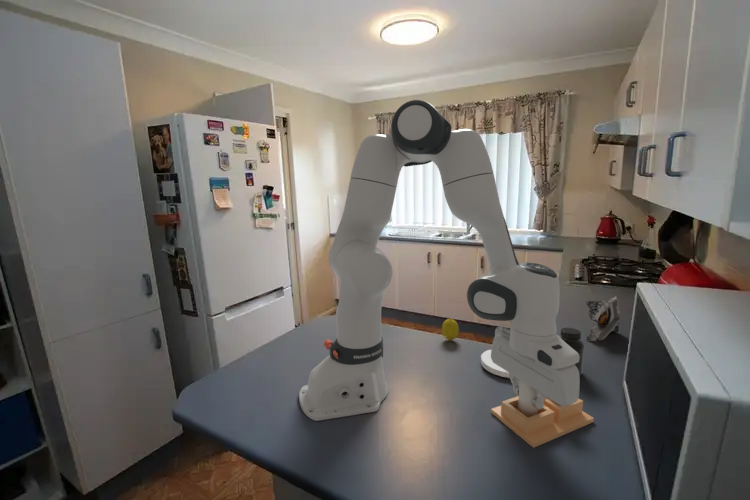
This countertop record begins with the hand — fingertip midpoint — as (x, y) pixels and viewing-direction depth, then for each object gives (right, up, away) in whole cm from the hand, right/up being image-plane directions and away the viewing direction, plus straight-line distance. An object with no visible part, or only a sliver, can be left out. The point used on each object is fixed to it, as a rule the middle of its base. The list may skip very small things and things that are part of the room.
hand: (527, 400), depth 75 cm
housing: (+4, -5, +3) cm, 7 cm away
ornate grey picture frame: (+44, +3, +44) cm, 62 cm away
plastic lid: (+4, -2, +24) cm, 25 cm away
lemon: (-8, +2, +42) cm, 42 cm away
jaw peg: (0, -3, +1) cm, 3 cm away
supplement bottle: (+21, -2, +22) cm, 30 cm away
